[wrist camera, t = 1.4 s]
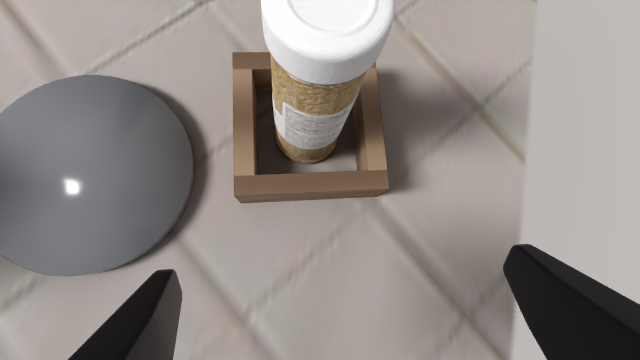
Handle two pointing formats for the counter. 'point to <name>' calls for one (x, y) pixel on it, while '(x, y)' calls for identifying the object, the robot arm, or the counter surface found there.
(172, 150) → the slate plate
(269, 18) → the sprinkles bottle
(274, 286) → the counter surface
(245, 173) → the walnut socket
